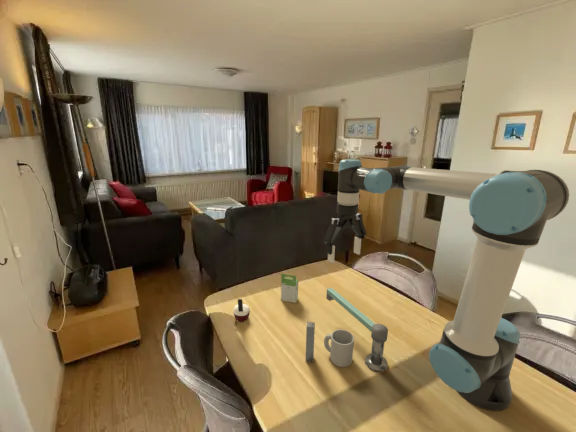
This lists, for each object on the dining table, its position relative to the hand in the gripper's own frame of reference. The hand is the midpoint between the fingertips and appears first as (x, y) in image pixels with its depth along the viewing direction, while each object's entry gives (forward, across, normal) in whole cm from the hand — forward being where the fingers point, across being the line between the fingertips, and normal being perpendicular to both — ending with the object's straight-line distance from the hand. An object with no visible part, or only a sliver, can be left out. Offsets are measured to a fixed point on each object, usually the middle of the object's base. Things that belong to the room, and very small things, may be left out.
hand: (344, 257), depth 107 cm
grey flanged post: (+27, +7, +24) cm, 37 cm away
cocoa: (+27, +34, -21) cm, 48 cm away
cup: (+27, +16, +15) cm, 35 cm away
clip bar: (+18, +5, +11) cm, 22 cm away
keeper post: (+27, +24, +11) cm, 37 cm away
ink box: (+27, +10, -22) cm, 36 cm away
